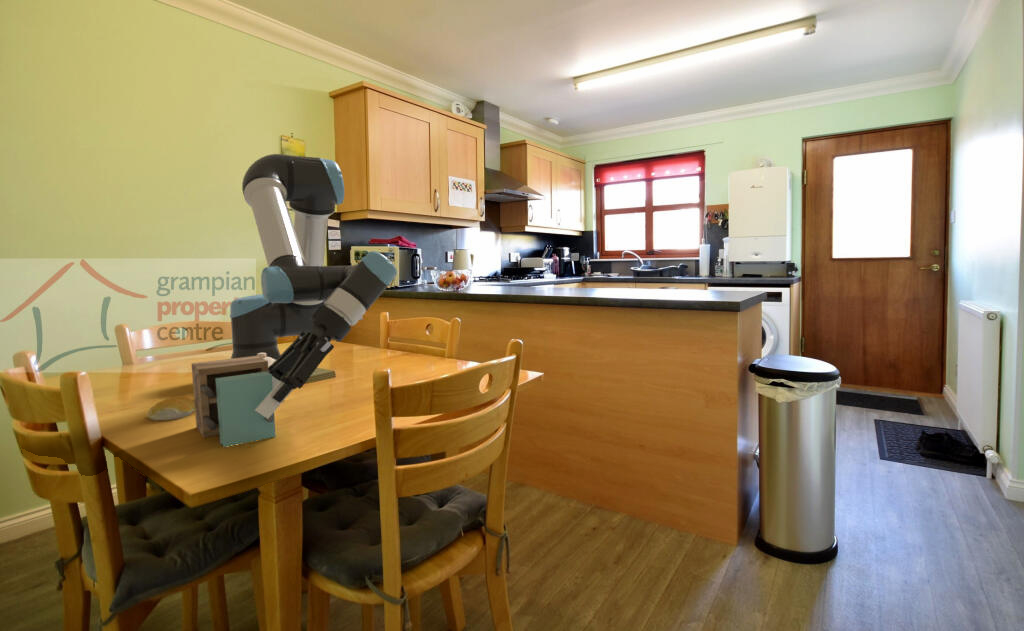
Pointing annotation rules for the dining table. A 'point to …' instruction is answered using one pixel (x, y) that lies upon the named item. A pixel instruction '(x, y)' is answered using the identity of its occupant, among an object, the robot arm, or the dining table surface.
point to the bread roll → (171, 409)
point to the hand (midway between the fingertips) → (255, 409)
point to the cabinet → (207, 387)
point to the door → (243, 408)
